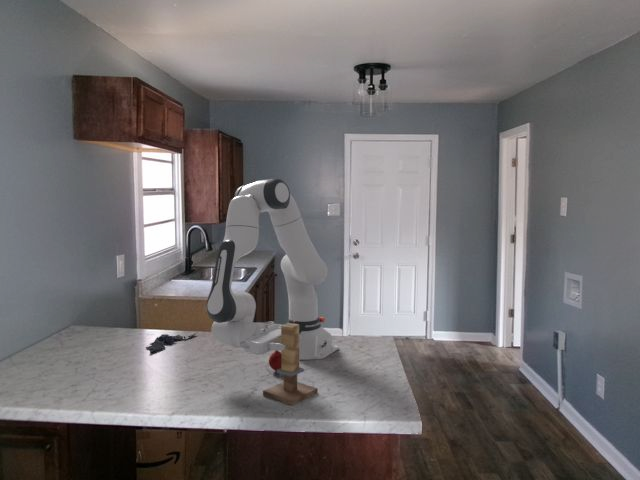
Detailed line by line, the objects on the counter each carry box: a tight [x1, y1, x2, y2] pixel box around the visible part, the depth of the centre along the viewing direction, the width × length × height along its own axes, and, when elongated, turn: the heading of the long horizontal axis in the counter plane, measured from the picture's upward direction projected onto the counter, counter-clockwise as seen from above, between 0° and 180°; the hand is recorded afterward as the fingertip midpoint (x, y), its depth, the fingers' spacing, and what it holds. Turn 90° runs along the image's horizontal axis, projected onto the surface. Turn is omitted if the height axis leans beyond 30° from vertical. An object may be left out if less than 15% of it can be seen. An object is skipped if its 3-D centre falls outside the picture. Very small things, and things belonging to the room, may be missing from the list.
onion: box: [268, 350, 282, 373], centre depth 184 cm, size 6×6×8 cm
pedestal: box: [262, 366, 319, 406], centre depth 165 cm, size 12×12×8 cm
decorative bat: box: [145, 331, 199, 353], centre depth 217 cm, size 30×4×10 cm
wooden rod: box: [280, 322, 300, 372], centre depth 163 cm, size 4×4×14 cm
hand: (292, 343), depth 163 cm, fingers open, 8 cm apart
